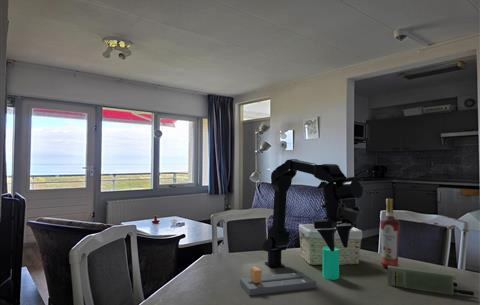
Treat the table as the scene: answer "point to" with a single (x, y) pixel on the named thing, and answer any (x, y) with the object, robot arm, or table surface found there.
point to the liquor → (389, 237)
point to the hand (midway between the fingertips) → (339, 249)
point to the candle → (330, 263)
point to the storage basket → (314, 245)
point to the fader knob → (255, 274)
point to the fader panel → (278, 283)
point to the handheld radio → (424, 280)
